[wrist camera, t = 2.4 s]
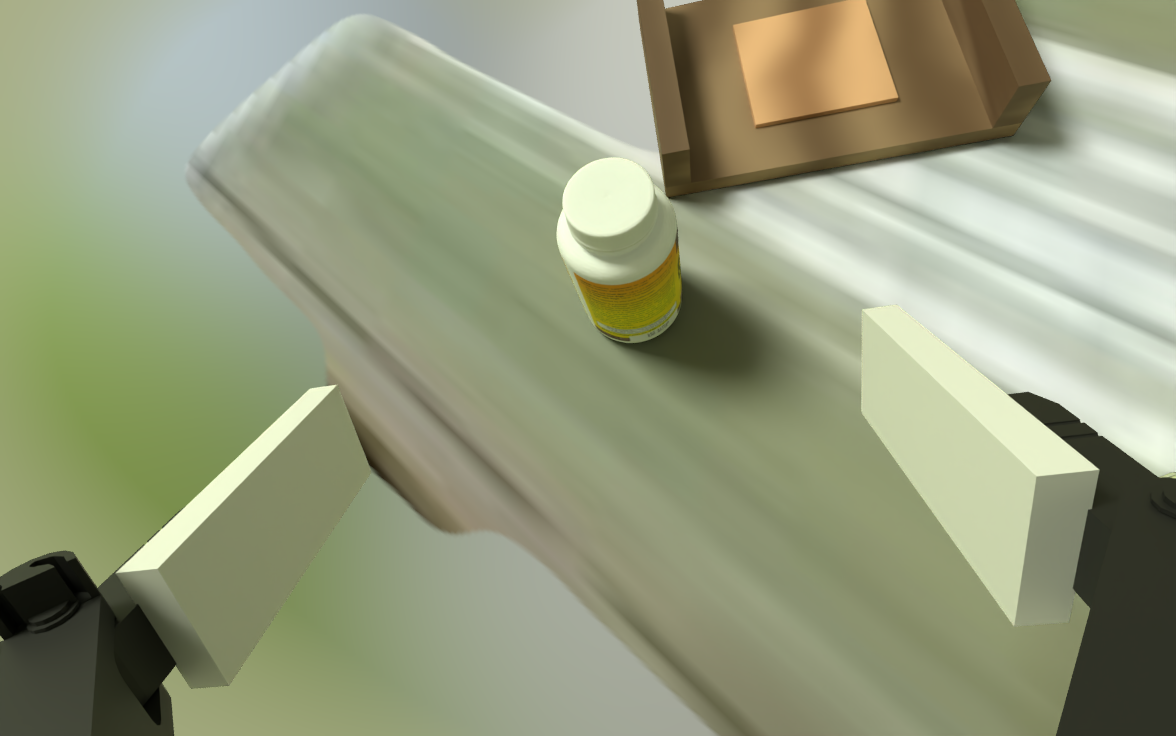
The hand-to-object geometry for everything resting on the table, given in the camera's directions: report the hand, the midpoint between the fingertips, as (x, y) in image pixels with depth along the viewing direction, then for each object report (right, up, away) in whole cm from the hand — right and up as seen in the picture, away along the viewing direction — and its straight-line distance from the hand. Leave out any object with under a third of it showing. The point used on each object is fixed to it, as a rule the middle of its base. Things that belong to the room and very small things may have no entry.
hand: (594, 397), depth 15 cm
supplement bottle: (+2, +5, +20) cm, 20 cm away
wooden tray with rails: (+13, +19, +23) cm, 32 cm away
